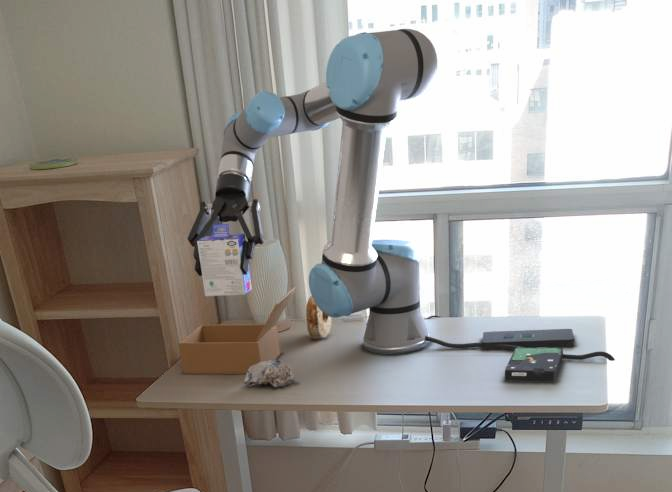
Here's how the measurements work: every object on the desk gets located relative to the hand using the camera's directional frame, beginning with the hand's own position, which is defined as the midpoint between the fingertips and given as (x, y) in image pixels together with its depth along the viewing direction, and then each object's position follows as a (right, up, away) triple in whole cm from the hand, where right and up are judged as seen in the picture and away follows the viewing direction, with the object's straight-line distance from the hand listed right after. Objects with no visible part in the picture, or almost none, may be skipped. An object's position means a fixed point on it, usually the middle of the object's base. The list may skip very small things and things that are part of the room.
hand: (220, 271), depth 204 cm
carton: (+1, -18, +11) cm, 21 cm away
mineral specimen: (+11, -26, -4) cm, 28 cm away
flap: (+12, -8, +2) cm, 15 cm away
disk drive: (+67, -25, -10) cm, 72 cm away
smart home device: (+69, -14, +6) cm, 70 cm away
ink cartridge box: (+1, -3, +5) cm, 6 cm away
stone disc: (+22, -8, +23) cm, 32 cm away
